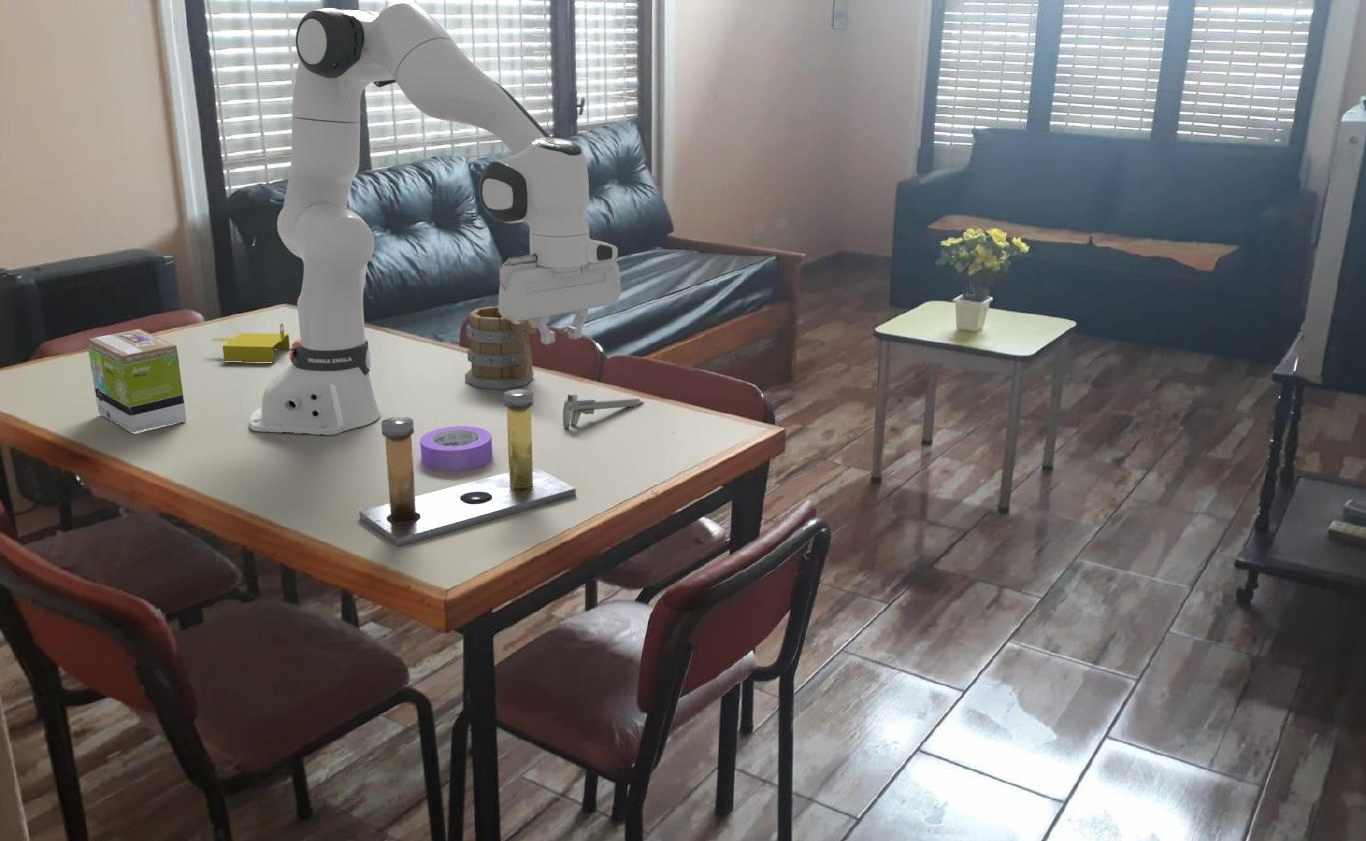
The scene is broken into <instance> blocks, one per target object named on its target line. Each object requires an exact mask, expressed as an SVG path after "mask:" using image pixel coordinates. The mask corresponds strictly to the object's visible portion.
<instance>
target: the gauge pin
mask: <svg viewBox="0 0 1366 841" xmlns="http://www.w3.org/2000/svg"><path fill="white" fill-rule="evenodd" d="M533 405H534V392H533V391H531V390H528V389H512V390H507V391H505V392H504V393H503V406H504V407H506V420H507V449H508V454H507V455H508V472H509V483H510V486H511V487H514V488H527V487H530V486H532V485H533V466H534V465H533V443H532V442H533V440H532V439H533V438H532V433H533V432H532V407H533Z"/></svg>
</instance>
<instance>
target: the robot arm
mask: <svg viewBox="0 0 1366 841" xmlns="http://www.w3.org/2000/svg"><path fill="white" fill-rule="evenodd" d="M295 49H296V52H297V56H298V58H299V62H298V65H297V69H296V75H295V80H294V85H293V94H292V104H291V105H292V107H291V108H292V109H291V156H290V158H291V159H290V161H291V162H290V170H289V175H288V181H287V186H286V191H285V196H284V201H283V207H282V209H281V210H280V212H279V214H278V216H277V222H276V223H277V224H276V226H277V227H276V228H277V229H276V230H277V233H278V235H279V237H280V239H281V241H282V242H283V244H284V246H285V247H286V248H287V249H288V251H289V252H291V253H292V254H293V255H294V256H296V257H299V258H300V259H302V262H303V278H302V285H301V286H302V287H301V291H300V295H299V296H298V298H297V314H298V315H297V316H298V325H299V337H300V338H299V339H295V340H294V342H293V343H292V344H291V347H290V350H289V360H290V362H291V364H290V365H289V366H288V367H287V368H286V369H284V370H283V371H282V372H280V373H279V374H278V375H277V376H276V377H275V378H274V379H272V380H271V381H270V382H269V383H268V384H267V386H265V389H264V391H263V394H262V400H261V406H260V407H259V408H258V409H256V410H255V411H253V413H252V414H251V416H250V418H249V427H250V429H251V430H252V431H254V432H265V433H267V431H268V433H282V432H294V433H293V434H301V433H310V435H320V434H323V435H322V436H332V435H337V434H340V433H342V432H345V431H347V430H351V429H352V430H353V429H357V428H359V427H364V426H367V425H370V424H372V423H374V422H376V421H377V420H378V419H379V418H380V416H381V412H380V410H379V407H378V405H377V402H376V399H375V394H374V392H373V391H374V390H373V386H372V381H371V377H370V371H371V355H370V354H371V352H370V348H369V342H368V340H367V339H366V331H365V315H364V288H365V282H366V275H367V274H366V273H367V268H368V263H369V262H370V260H371V259H372V257H373V254H374V251H375V238H374V234H373V231H372V229H371V228H370V227H369V225H368V224H367V222H365V220H364V219H363V218H362V217H361V216H360V215H359V214H358V213H356V212H355V211H353V210H351V209H348V202H349V196H350V193H351V188H352V185H353V182H354V178H355V177H356V175H357V174H358V172H359V170H360V169H359V168H360V150H361V148H360V147H361V96H362V94H363V91H364V89H366V87H368V86H369V85H370V84H374V85H375V86H376V87H377V88H382V87H385V86H388V85H392V84H395V83H396V84H397V85H398V87H399V88H400V90H401V91H402V93H403V94H404V95H405V97H406V98H407V99H408V100H409V101H410V102H411V104H412V105H414V106H415V107H416V108H417V109H418V110H419V111H421V112H422V113H423V114H424V115H427V116H429V117H430V118H434V119H435V120H436V119H437V120H441V121H448V122H453V123H459V124H464V125H470V126H474V127H476V128H480V129H482V130H485V131H487V132H489V133H491V134H493V135H494V136H496V137H497V138H498V139H499V140H500V141H501V142H502V143H503V144H504V145H505V146H506V147H507V148H508V149H509V151H511V153H512V154H513V155H511V156H508V157H504V158H501V159H498V160H495V161H492V162H490V163H488V165H486V167H485V168H484V169H483V171H482V174H481V176H480V179H479V186H478V187H479V189H478V190H479V191H478V192H479V198H480V202H481V205H482V207H483V208H484V210H485V213H487V214H488V215H489V217H490V218H492V219H493V220H495V221H496V222H499V223H505V224H516V223H517V224H518V223H522V222H527V223H528V225H529V254H526V255H522V256H512V257H511V256H510V257H509V258H507V260H505V262H504V263H502V265H501V266H500V267H499V290H498V304H497V306H498V311H499V313H500V315H501V316H502V317H503V318H505V319H507V320H510V321H513V322H515V321H521V320H527V319H532V320H533V322H534V323H535V325H536V326H537V330H538V331H539V332H540V342H541V343H542V344H544V345H550V344H554V343H556V332H555V331H552V330H550V329H549V327H548V325H547V324H548V323H549V322H550V316H554V315H561V314H567V313H572V315H575V316H574V317H573V320H572V323H571V325H568V326H566V328H567V329H566V330H567V338H568V339H571V340H578V339H581V338H582V336H583V333H582V330H583V329H582V328H583V326H584V324H585V323H586V320H587V319H588V317H589V310H590V309H595V308H602V307H607V306H608V307H609V306H613V305H616V304H617V303H618V301H619V300H620V298H621V291H622V290H621V288H622V287H621V275H620V274H621V272H620V267H619V264H618V262H616V261H615V260H616V259H617V258H618V254H619V252H618V251H619V250H618V247H617V246H616V245H614V244H612V243H611V244H610V243H608V242H604V241H601V240H598V239H596V238H593V237H590V226H589V223H588V219H587V214H588V208H589V207H588V206H589V202H590V180H589V172H588V165H587V159H586V156H585V153H584V151H583V149H582V147H581V146H580V145H578V144H577V143H575V142H574V141H571V140H568V139H565V138H556V137H551V136H550V135H549V134H548V132H547V131H546V130H545V129H544V128H543V127H542V126H541V125H540V124H539V123H538V122H537V121H536V120H535V119H534V117H532V116H531V114H530V113H529V112H528V111H527V110H526V109H525V108H524V107H523V105H521V104H520V103H519V101H518V100H517V99H516V98H515V97H514V96H513V95H512V94H510V92H509V91H508V90H506V88H504V87H503V86H501V85H500V84H499V83H498V82H497V81H495V80H493V79H492V78H490V76H488V75H486V73H484V72H483V71H482V70H481V69H480V68H478V67H477V66H476V65H475V64H474V63H473V62H472V60H470V58H468V57H467V56H466V54H464V52H463V51H462V50H461V49H460V47H458V45H457V44H456V42H455V41H454V40H453V39H452V37H451V36H450V35H449V33H448V32H447V31H446V30H445V29H444V27H443V26H442V25H441V24H440V23H439V22H438V20H436V19H435V18H434V17H433V16H432V15H431V14H430V13H429V12H428V11H426V10H425V9H424V8H423V7H421V5H419V4H417V3H415V2H412V1H409V0H408V1H407V0H401V1H399V0H398V1H395V2H393V3H391V4H389V5H387V6H385V7H384V8H383V9H382V10H380V12H377V11H372V10H371V11H370V10H366V9H360V10H355V9H354V10H353V9H337V8H332V7H327V8H319V9H315V10H311V11H310V12H309V11H308V12H307V13H306V14H305V15H304V16H303V17H302V19H301V20H300V21H299V23H298V26H297V30H296V32H295Z"/></svg>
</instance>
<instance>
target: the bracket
mask: <svg viewBox="0 0 1366 841" xmlns="http://www.w3.org/2000/svg"><path fill="white" fill-rule="evenodd" d="M211 341H216V342H218V341H219V342H226V343H225V344H223V345H222V351H223V352H222V353H223V362H224V361H242V362H272V363H274V364H275V358H274V357H275V356H274V350H273V349H277V350H276V351H290V349H291V346H290V345H291V344H290V336H289V333H285V330H284V324H283V323H280V326H279V333H256V332H255V333H252V332H251V333H250V332H249V333H246V332H245V333H244V332H241V333H239V334H237V335H236V336H235V337H215V338H212V339H211Z"/></svg>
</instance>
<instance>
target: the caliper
mask: <svg viewBox="0 0 1366 841" xmlns="http://www.w3.org/2000/svg"><path fill="white" fill-rule="evenodd" d="M577 397H578V395H577V394H568V395H567V398H566V399H567V400H564V404H563V408H562V409H563V410H562V426H563V427H564V428H566V429H569V428H570V427H573V428H574V427H577V425H578V423H579V419H580V417H581V413H582V414H585V415H593V414H594V412H595V410H605V409H618V408H619V409H621V408H632V406H634V407H636V405H637V406H639V405H640V404H641V405H642V404H644V403H645V402H644V400H640V398H637V397H630V398H627V397H626V398H614V399H602V400H601V399H599V400H596V399H593V398H582V399H577Z"/></svg>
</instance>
